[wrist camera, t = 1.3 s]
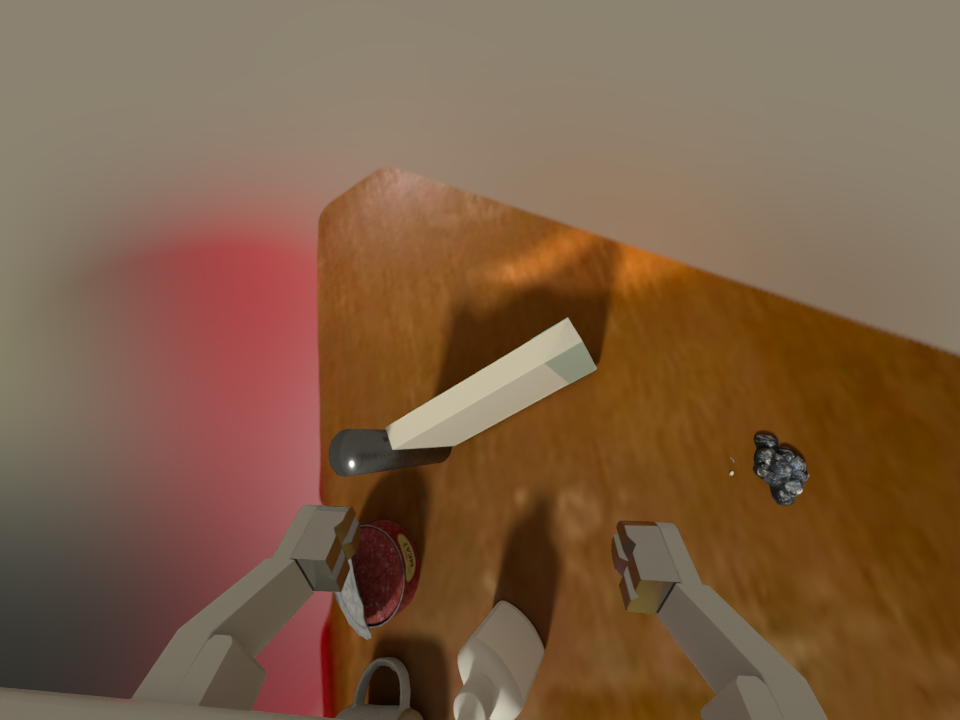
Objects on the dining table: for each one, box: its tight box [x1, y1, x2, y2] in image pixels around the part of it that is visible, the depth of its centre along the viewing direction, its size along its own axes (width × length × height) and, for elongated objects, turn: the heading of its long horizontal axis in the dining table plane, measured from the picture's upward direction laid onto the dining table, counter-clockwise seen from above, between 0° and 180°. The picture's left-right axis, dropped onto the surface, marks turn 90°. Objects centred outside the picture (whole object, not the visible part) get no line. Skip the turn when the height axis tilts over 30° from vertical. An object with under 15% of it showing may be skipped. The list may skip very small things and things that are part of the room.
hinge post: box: [329, 429, 451, 477], centre depth 33 cm, size 4×4×14 cm
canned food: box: [334, 520, 420, 640], centre depth 36 cm, size 11×10×10 cm
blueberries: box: [729, 434, 810, 507], centre depth 27 cm, size 7×8×2 cm
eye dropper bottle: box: [453, 601, 544, 720], centre depth 27 cm, size 4×6×12 cm
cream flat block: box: [385, 317, 597, 450], centre depth 31 cm, size 17×2×11 cm, turn 116°
